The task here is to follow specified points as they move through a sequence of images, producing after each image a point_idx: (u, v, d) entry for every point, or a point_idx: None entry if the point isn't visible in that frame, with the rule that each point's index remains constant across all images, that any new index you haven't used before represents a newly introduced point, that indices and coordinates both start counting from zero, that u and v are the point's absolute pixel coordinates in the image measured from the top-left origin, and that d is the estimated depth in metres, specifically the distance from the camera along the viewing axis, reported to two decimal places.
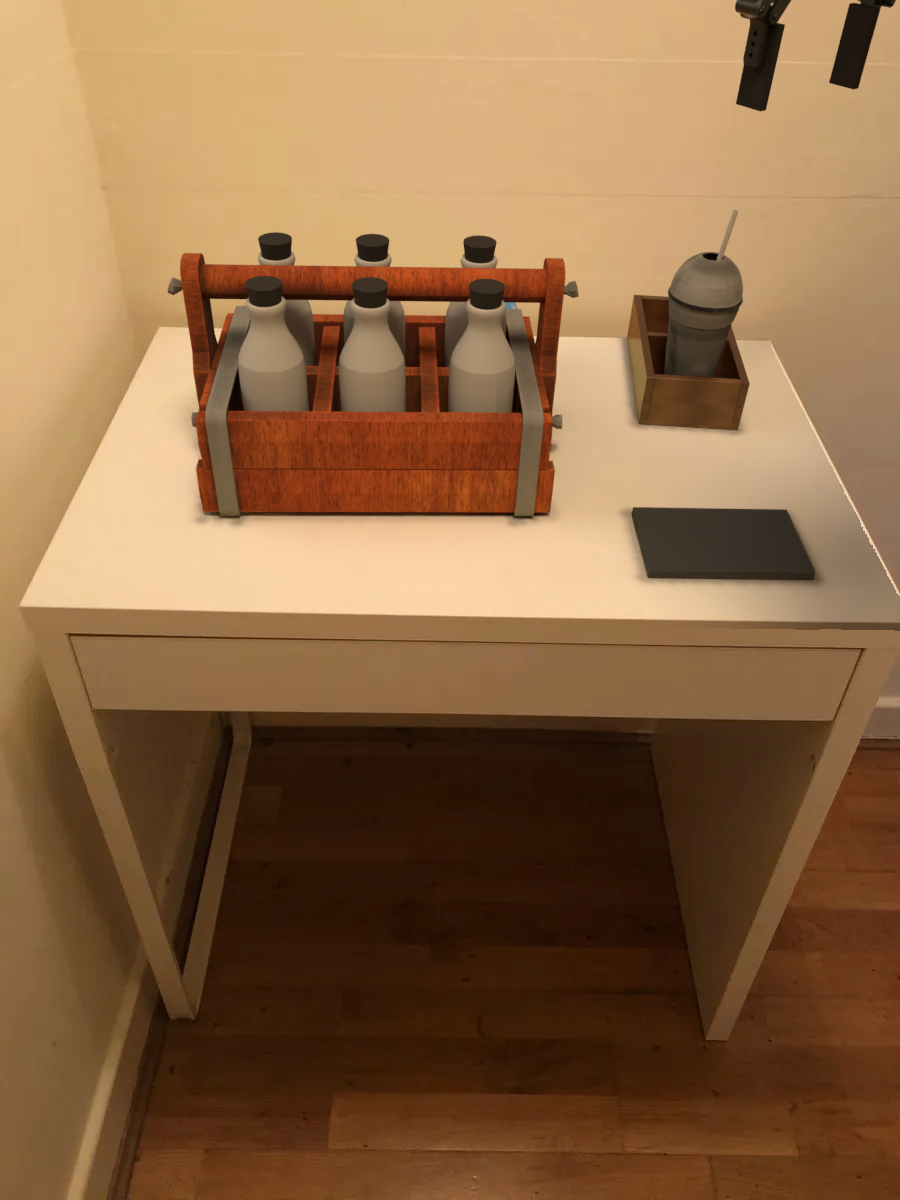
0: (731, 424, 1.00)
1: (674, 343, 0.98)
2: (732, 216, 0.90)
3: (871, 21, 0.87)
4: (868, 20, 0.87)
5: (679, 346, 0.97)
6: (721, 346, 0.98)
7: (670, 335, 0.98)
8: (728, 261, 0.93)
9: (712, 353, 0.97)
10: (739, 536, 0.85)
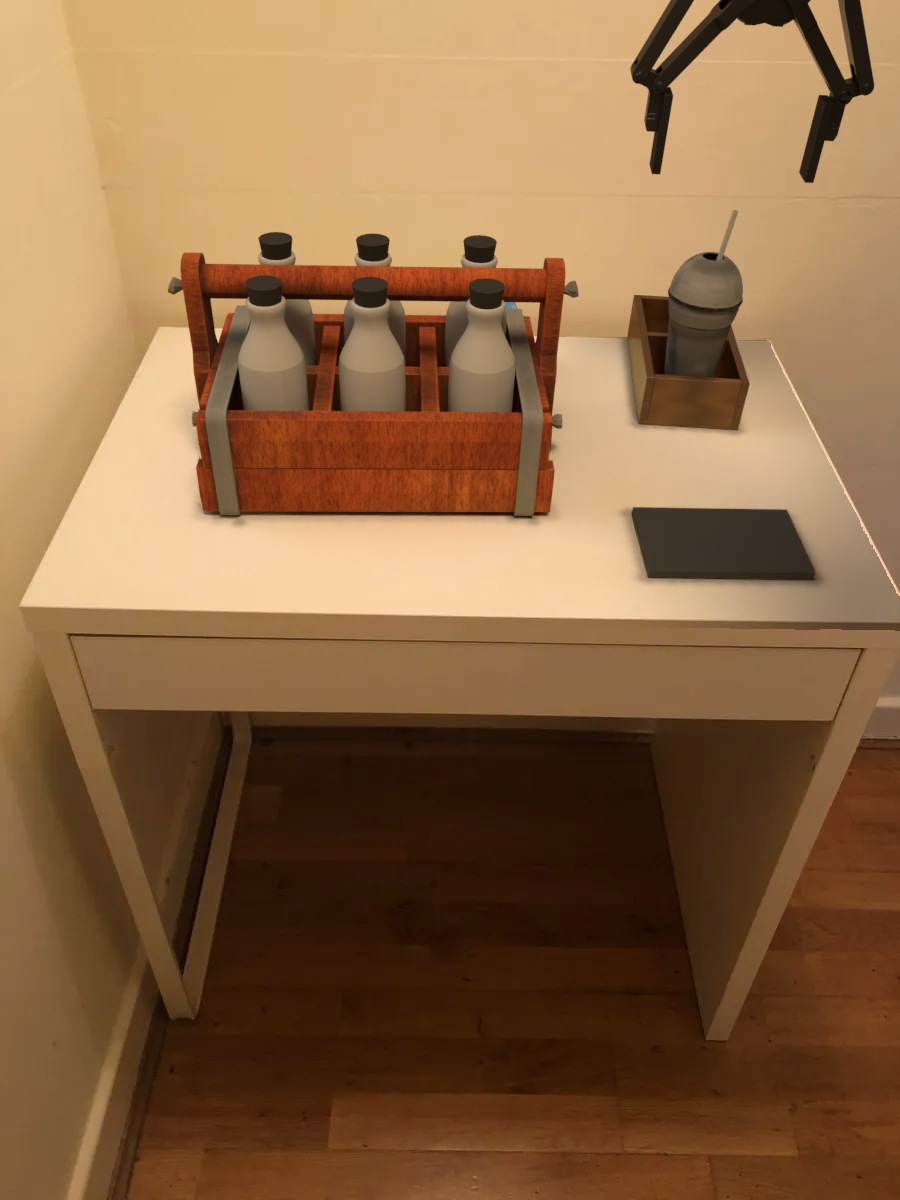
0: (731, 424, 1.00)
1: (674, 343, 0.98)
2: (732, 216, 0.90)
3: (822, 115, 0.84)
4: (821, 114, 0.84)
5: (679, 346, 0.97)
6: (721, 346, 0.98)
7: (670, 335, 0.98)
8: (728, 261, 0.93)
9: (712, 353, 0.97)
10: (739, 536, 0.85)
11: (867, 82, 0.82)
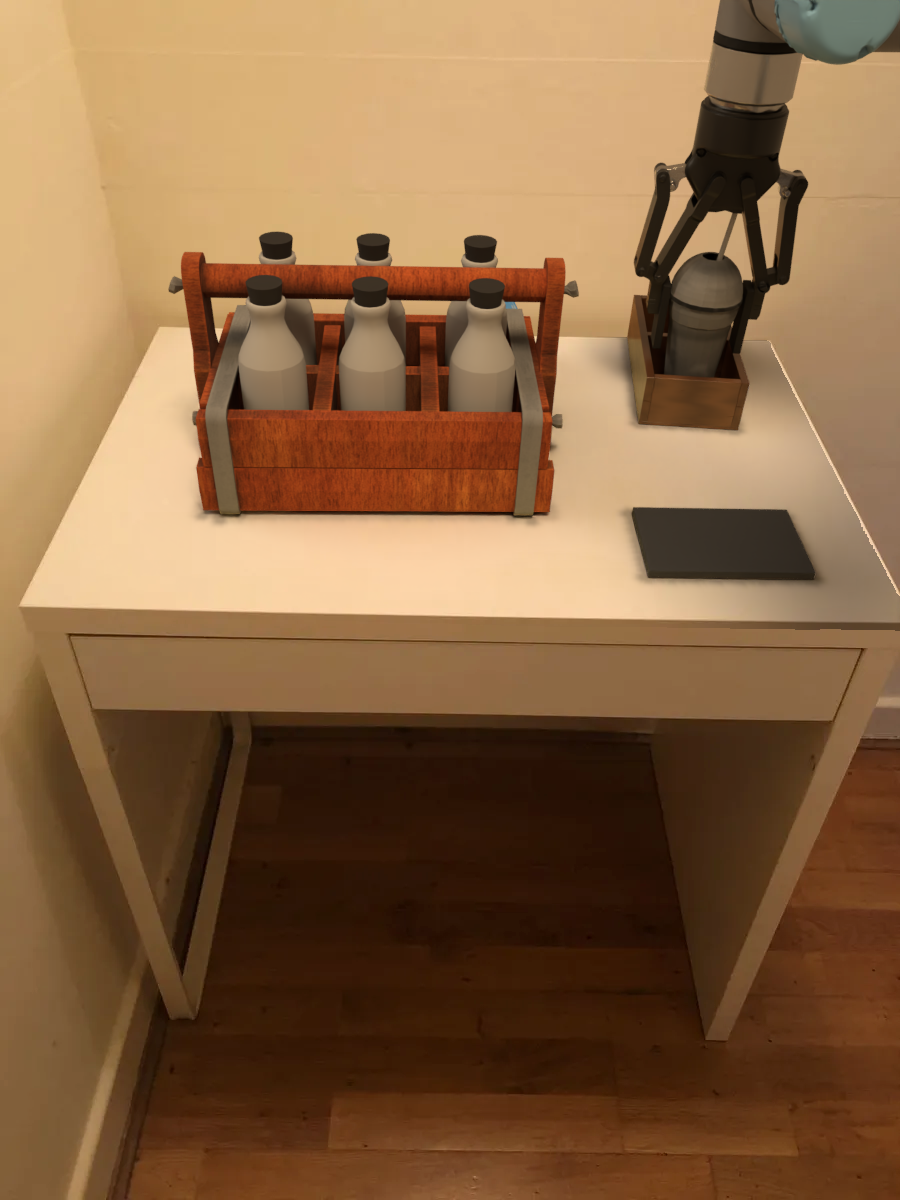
0: (731, 424, 1.00)
1: (674, 343, 0.98)
2: (732, 216, 0.90)
3: (745, 300, 0.95)
4: (744, 299, 0.95)
5: (679, 346, 0.97)
6: (721, 346, 0.98)
7: (670, 335, 0.98)
8: (728, 261, 0.93)
9: (712, 353, 0.97)
10: (739, 536, 0.85)
11: (784, 275, 0.93)
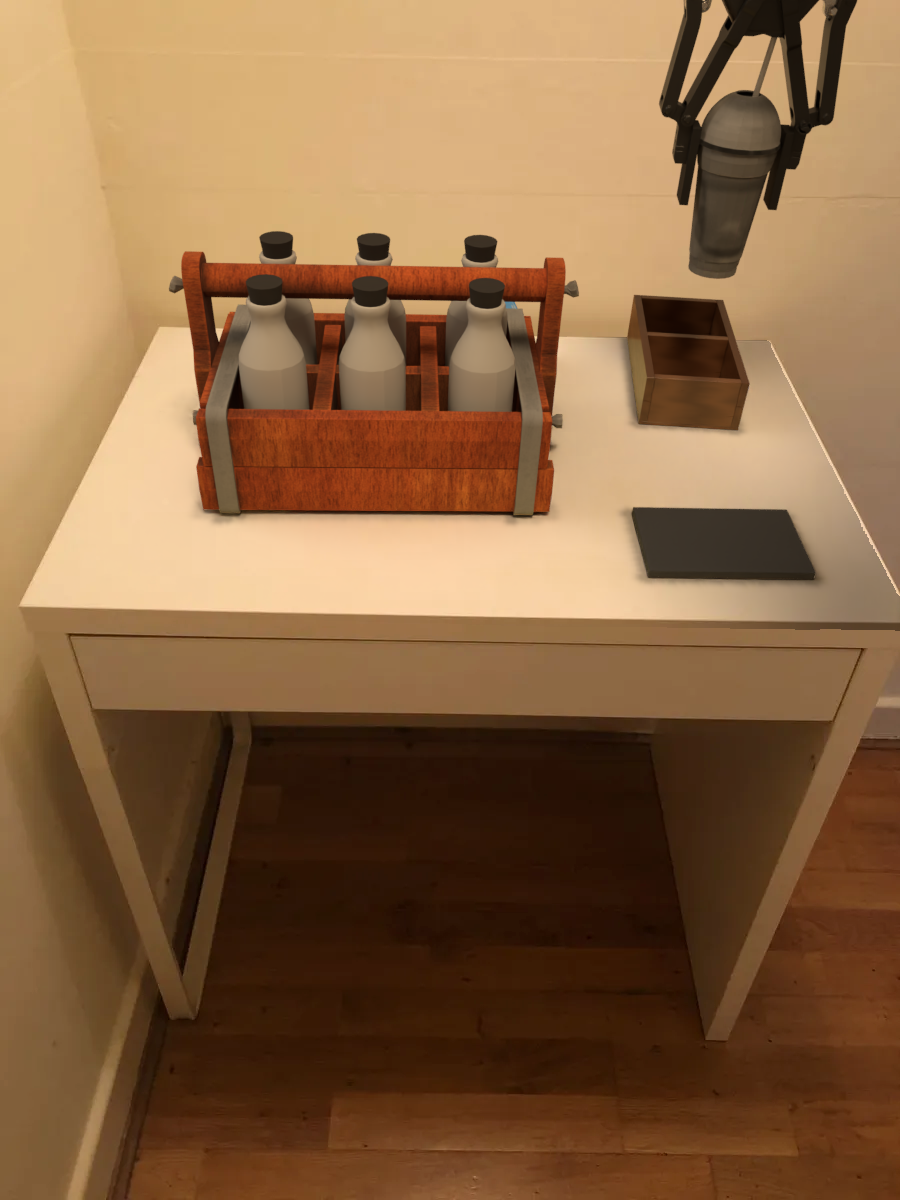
0: (731, 424, 1.00)
1: (703, 198, 0.88)
2: (771, 42, 0.81)
3: (783, 145, 0.85)
4: (782, 143, 0.85)
5: (709, 200, 0.88)
6: (756, 200, 0.88)
7: (699, 189, 0.89)
8: (765, 98, 0.84)
9: (746, 208, 0.88)
10: (739, 536, 0.85)
11: (828, 112, 0.83)
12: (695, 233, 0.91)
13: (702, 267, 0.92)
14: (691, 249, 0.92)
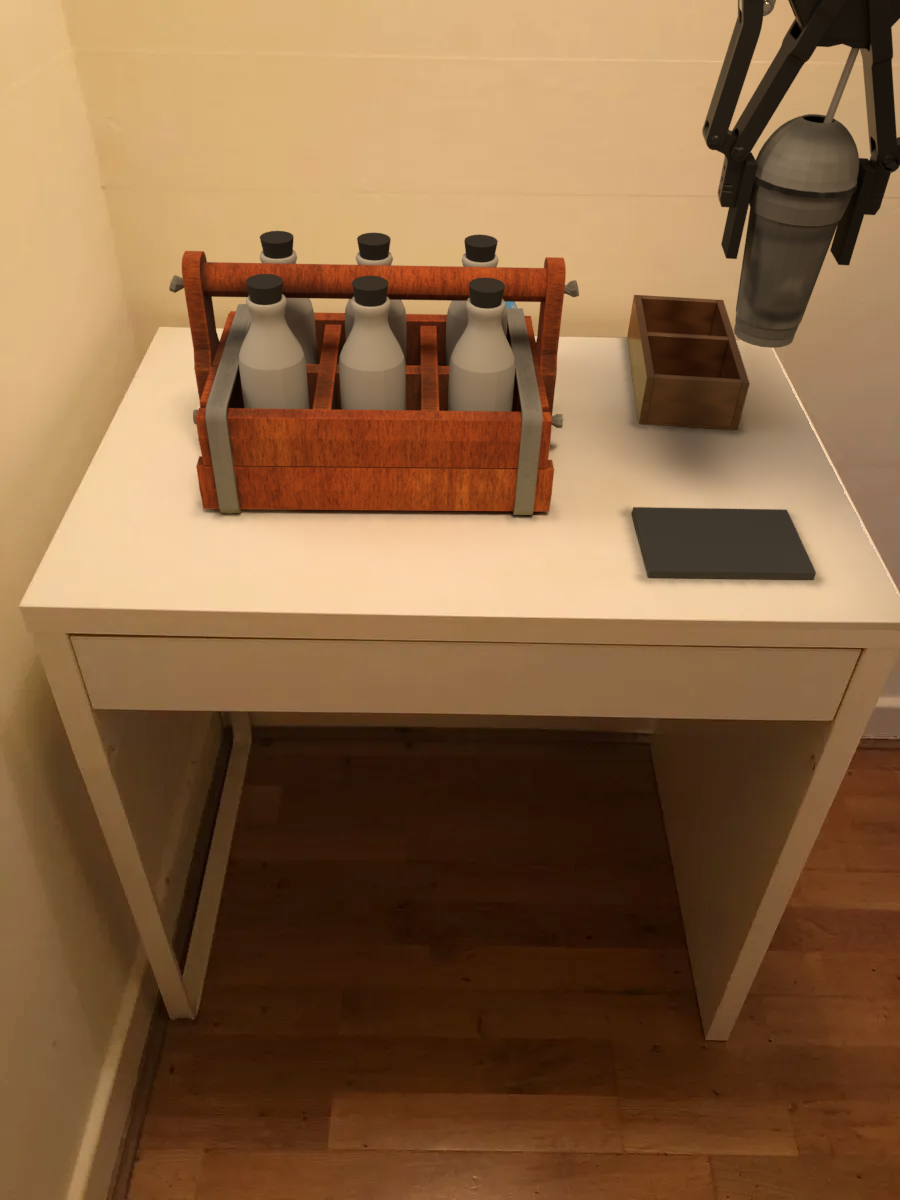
0: (731, 424, 1.00)
1: (757, 249, 0.70)
2: (851, 53, 0.62)
3: (861, 185, 0.67)
4: (860, 183, 0.67)
5: (765, 253, 0.69)
6: (824, 253, 0.69)
7: (751, 238, 0.70)
8: (840, 125, 0.65)
9: (811, 263, 0.69)
10: (739, 536, 0.85)
11: None
12: (745, 292, 0.72)
13: (753, 333, 0.74)
14: (739, 311, 0.74)
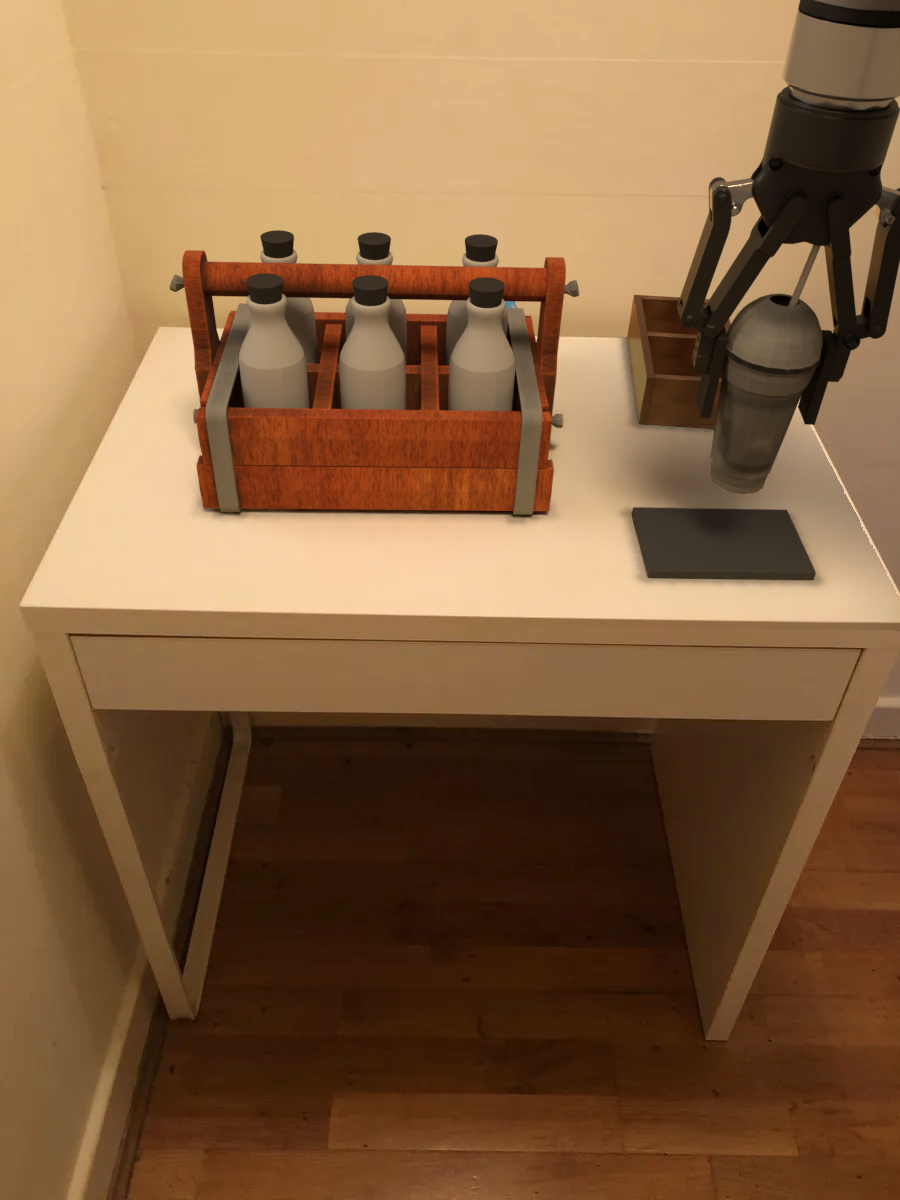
0: None
1: (728, 411, 0.75)
2: (813, 249, 0.67)
3: (825, 358, 0.72)
4: (824, 356, 0.72)
5: (736, 415, 0.75)
6: (791, 415, 0.75)
7: (724, 399, 0.75)
8: (805, 307, 0.70)
9: (779, 425, 0.74)
10: (739, 536, 0.85)
11: (879, 326, 0.70)
12: (718, 445, 0.78)
13: (726, 481, 0.79)
14: (713, 459, 0.79)
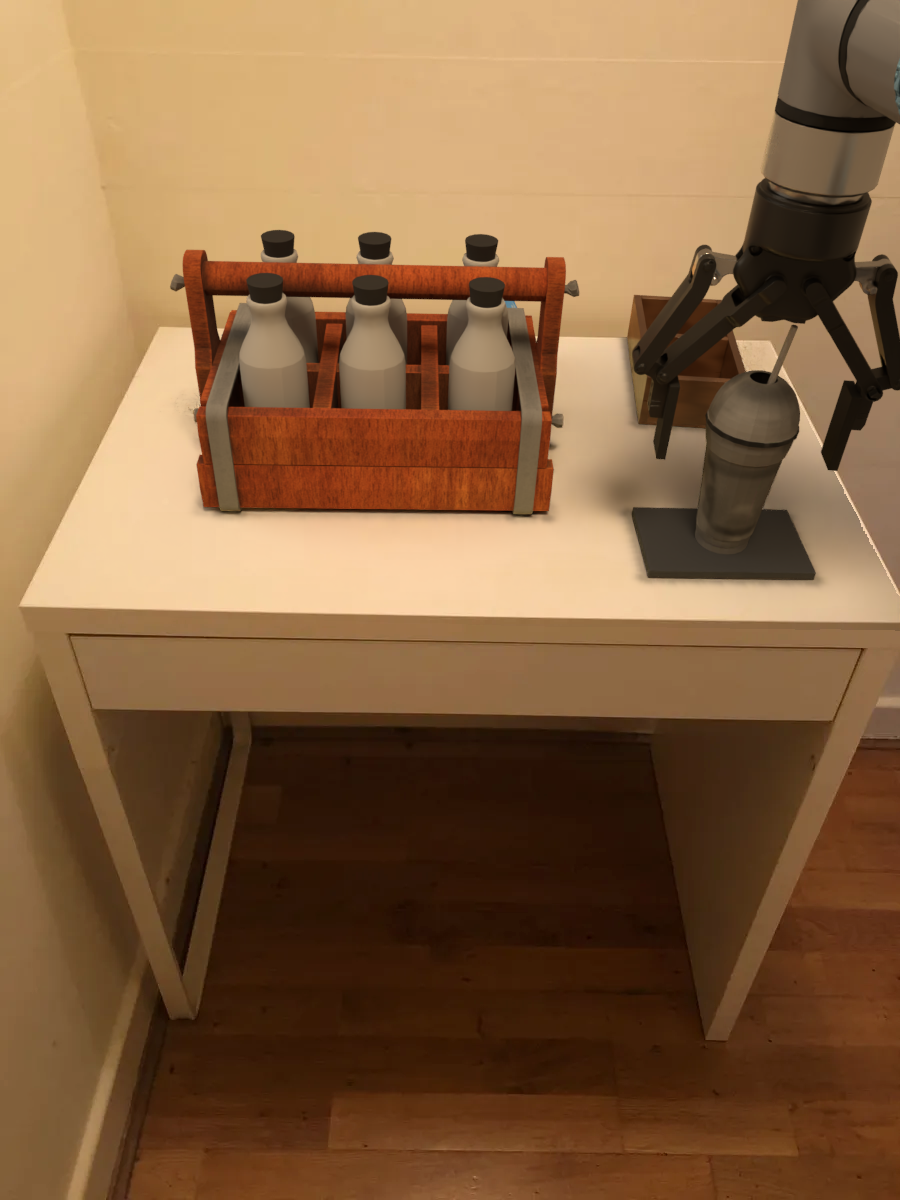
0: None
1: (712, 478, 0.79)
2: (790, 332, 0.71)
3: (848, 408, 0.74)
4: (847, 406, 0.75)
5: (719, 483, 0.79)
6: (771, 483, 0.79)
7: (707, 467, 0.79)
8: (783, 384, 0.74)
9: (760, 492, 0.78)
10: None
11: None
12: (703, 508, 0.82)
13: (710, 542, 0.83)
14: (698, 521, 0.83)
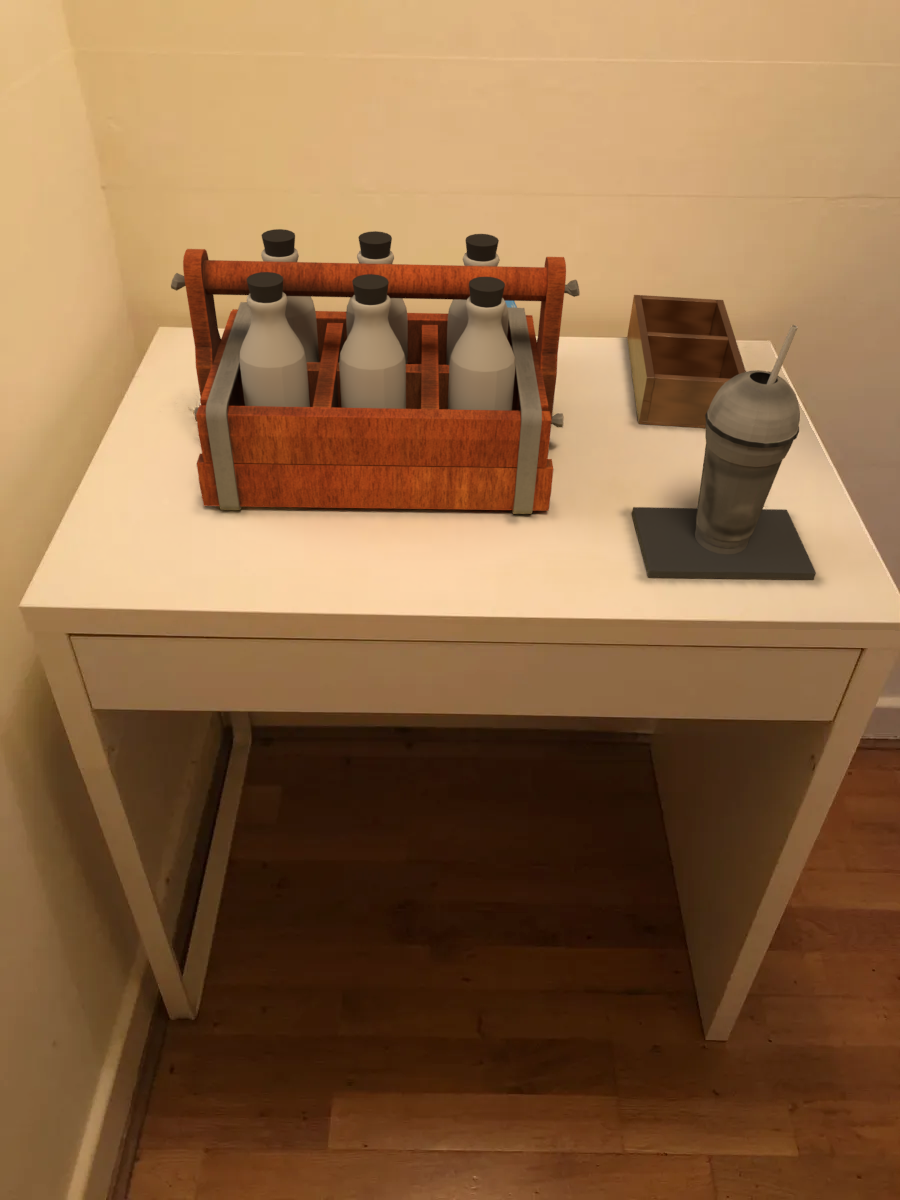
0: None
1: (712, 478, 0.79)
2: (790, 332, 0.71)
3: None
4: None
5: (719, 483, 0.79)
6: (771, 483, 0.79)
7: (707, 467, 0.79)
8: (782, 384, 0.74)
9: (760, 492, 0.78)
10: None
11: None
12: (703, 508, 0.82)
13: (710, 542, 0.83)
14: (698, 521, 0.83)
